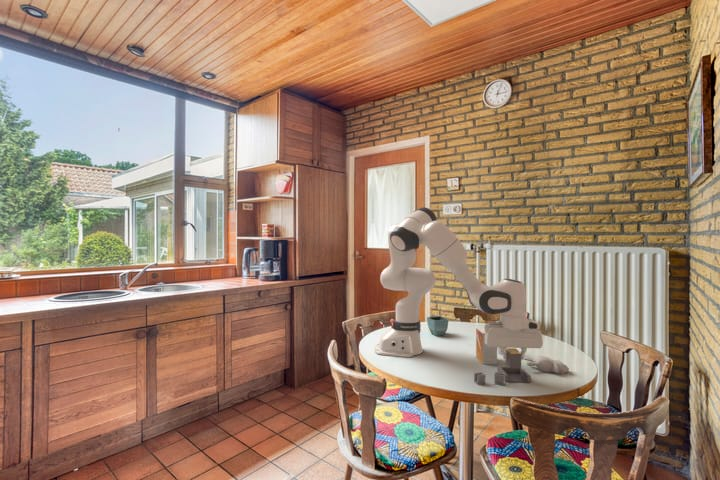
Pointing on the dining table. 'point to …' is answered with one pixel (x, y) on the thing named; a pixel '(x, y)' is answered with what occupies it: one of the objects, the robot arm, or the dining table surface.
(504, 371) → the end holder
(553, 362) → the bunny figurine
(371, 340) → the dining table surface
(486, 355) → the small box
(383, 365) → the dining table surface
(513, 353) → the connector
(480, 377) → the clip
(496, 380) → the clip
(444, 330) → the flower pot
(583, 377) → the dining table surface
